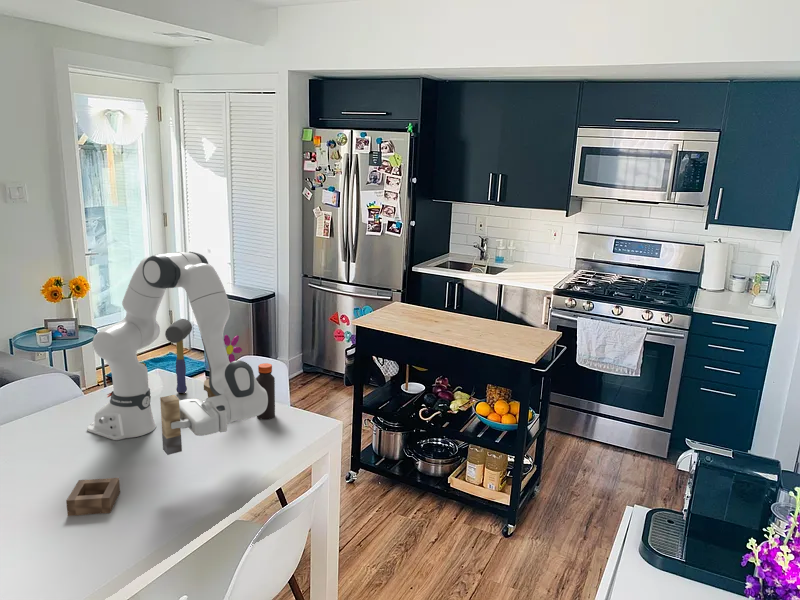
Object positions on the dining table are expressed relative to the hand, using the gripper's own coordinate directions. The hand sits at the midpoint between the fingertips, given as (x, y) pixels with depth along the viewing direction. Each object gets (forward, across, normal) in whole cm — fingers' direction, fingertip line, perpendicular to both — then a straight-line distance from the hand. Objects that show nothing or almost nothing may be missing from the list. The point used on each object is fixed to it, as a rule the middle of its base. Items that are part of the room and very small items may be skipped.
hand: (167, 422), depth 171 cm
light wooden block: (-1, 0, +9) cm, 9 cm away
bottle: (-44, -30, +20) cm, 57 cm away
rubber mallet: (-25, -69, +20) cm, 76 cm away
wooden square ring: (+20, -2, +20) cm, 28 cm away
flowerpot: (-34, -47, +20) cm, 61 cm away
